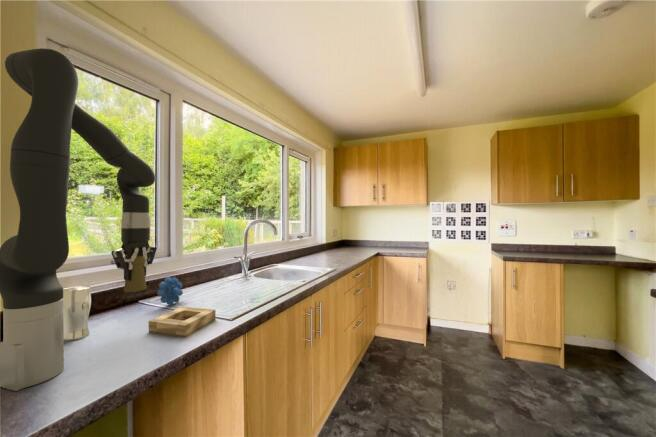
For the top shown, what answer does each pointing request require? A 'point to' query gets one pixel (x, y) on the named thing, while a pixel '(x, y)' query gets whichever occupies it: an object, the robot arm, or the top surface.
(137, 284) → the cork
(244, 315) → the top surface
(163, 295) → the blue lobed wheel
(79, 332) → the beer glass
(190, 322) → the holder block
